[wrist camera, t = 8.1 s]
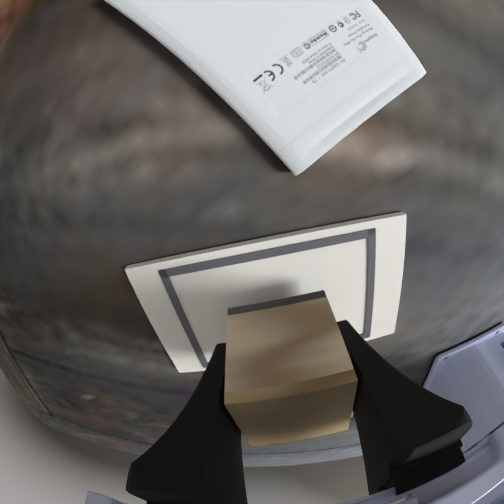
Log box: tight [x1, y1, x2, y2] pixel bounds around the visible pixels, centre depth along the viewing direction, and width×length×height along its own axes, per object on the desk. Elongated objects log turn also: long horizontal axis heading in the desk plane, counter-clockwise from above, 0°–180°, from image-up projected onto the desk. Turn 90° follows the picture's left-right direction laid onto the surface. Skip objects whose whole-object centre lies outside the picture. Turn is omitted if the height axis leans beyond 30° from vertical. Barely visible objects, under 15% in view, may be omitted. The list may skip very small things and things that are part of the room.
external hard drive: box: [104, 0, 426, 176], centre depth 8 cm, size 2×8×12 cm
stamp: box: [224, 290, 358, 446], centre depth 11 cm, size 4×4×5 cm
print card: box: [124, 211, 406, 373], centre depth 14 cm, size 14×8×1 cm, turn 102°
